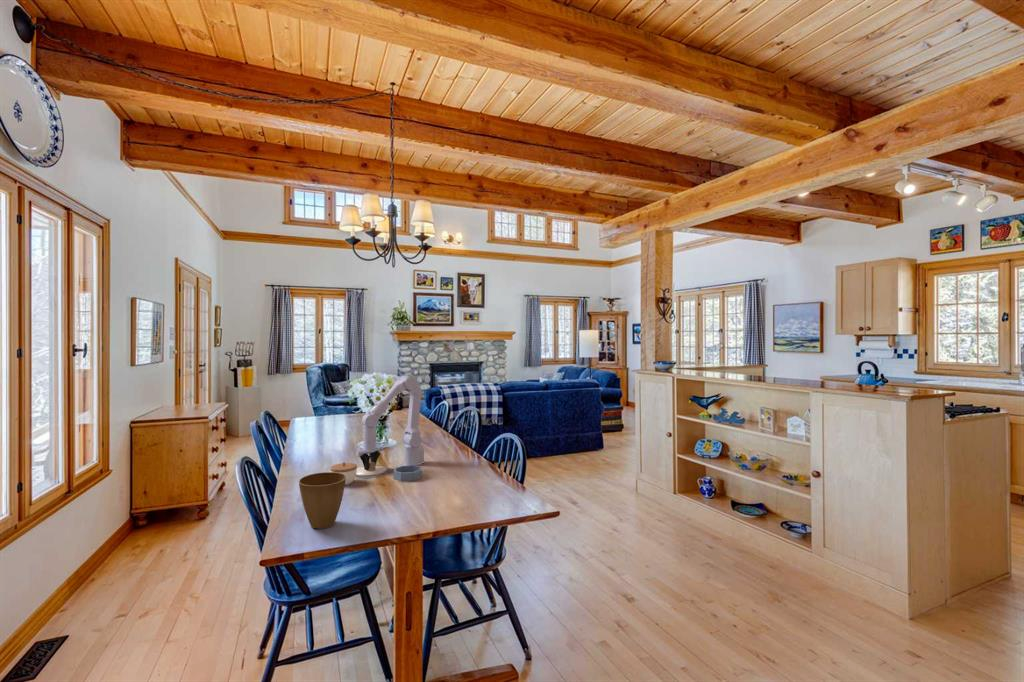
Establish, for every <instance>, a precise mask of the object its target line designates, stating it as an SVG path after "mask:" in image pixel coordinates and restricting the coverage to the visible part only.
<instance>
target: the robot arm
mask: <svg viewBox="0 0 1024 682" xmlns="http://www.w3.org/2000/svg"><path fill="white" fill-rule="evenodd" d="M402 392H406V393H407V394H409V405H408V415H407V424H406V425H407V426H406V428H405V429H404V433H403V434H402V438H401V440H402V443H404V448H403V451H404V453H403V454H404V456H403V457H404V461H403V463H400V466H408V465H415V466H416V465H417V466H420V465H423V464H422V462H425V450H424V447H423V446H422V445H421V444H422V438H421V431H420V429H419V423H420V413H421V412H420V411H421V403H422V402H421V401H422V390H421V387H420V385H419V381H418V380H417V378H415V377H414V376H410V375H409V376H408V375H403V374H402V375H400V376H399V377H398V379H396V380H395V382H394V384H393V385H391V388H390V389H389V390H388V391H387V393H386V394H385V396H384V397H383V399H381V400H378V401H376V402H374V404H373V406H372V408H370V409H369V410H368V411H367V413H365V414H364V415H363V416H362V419H361V420H360V422H361V424H362V425H363V427H362V428H363V429H362V431H363V433H362V435H363V436H362V437H363V440H362V441H363V442H362V443H363V447H362V449H360V450H357V451H355V457H357V458H358V457H359V458H360V460H361V462H362V465H363V467H364V469H365V470H369V461H370V462H375V466H376V465H377V462H378V458H379V457H380V455H381V451H382V452H383V451H384V446H383V445H378V446H377V427H376V426H377V425H378V423H379V419H380V418H381V417H382V416H383V414H384V413H385V412H386V411H387V410H388V408H389V407H388V405H389V404H390V403H391V402H392V401H393V399H395V397H397V395H398V394H399V393H402ZM419 463H420V465H419Z"/></svg>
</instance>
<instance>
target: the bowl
mask: <svg viewBox="0 0 1024 682" xmlns="http://www.w3.org/2000/svg"><path fill="white" fill-rule="evenodd" d="M393 469H394V471H393V480H395V481H398V482H400V481H401V482H400V483H406V482H405V481H410V482H415V481H414V480H416V481H418V480H417V479H419V478H421V479H422V477H423V476H422V475H423V474H422V473H423V472H422V471H423V470H422V466H420V465H417V466H415V465H408V466H404V465H400V466H397V467H394V468H393ZM419 480H420V479H419Z"/></svg>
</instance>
